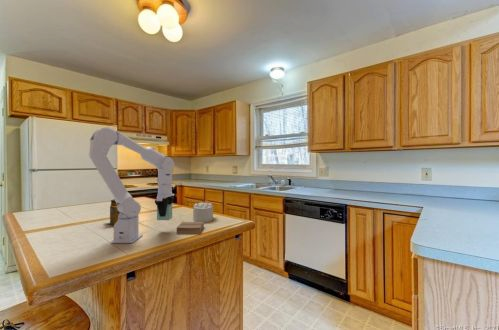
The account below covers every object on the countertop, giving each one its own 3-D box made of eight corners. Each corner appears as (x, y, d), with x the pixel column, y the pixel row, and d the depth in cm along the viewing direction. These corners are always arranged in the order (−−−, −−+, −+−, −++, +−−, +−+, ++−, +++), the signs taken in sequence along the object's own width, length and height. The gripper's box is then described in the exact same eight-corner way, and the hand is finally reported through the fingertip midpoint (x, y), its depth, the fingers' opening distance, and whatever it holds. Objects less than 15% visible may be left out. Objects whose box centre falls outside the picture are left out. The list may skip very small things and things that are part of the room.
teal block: (168, 220, 102) (168, 206, 102) (156, 220, 102) (157, 206, 102) (172, 217, 107) (172, 204, 107) (161, 217, 107) (161, 204, 107)
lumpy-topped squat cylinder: (213, 216, 134) (213, 201, 134) (212, 222, 122) (213, 205, 122) (194, 217, 133) (194, 201, 133) (192, 223, 120) (192, 205, 120)
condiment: (126, 224, 116) (126, 199, 116) (107, 227, 111) (107, 201, 110) (122, 221, 122) (122, 198, 122) (103, 224, 116) (103, 199, 116)
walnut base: (199, 234, 102) (200, 227, 102) (176, 234, 102) (176, 227, 102) (203, 228, 112) (203, 221, 112) (182, 228, 112) (182, 221, 112)
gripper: (168, 185, 97) (168, 218, 98) (178, 182, 112) (178, 211, 112) (151, 185, 97) (151, 218, 97) (163, 182, 112) (163, 211, 112)
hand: (164, 214), depth 105 cm, fingers closed on teal block, 5 cm apart
